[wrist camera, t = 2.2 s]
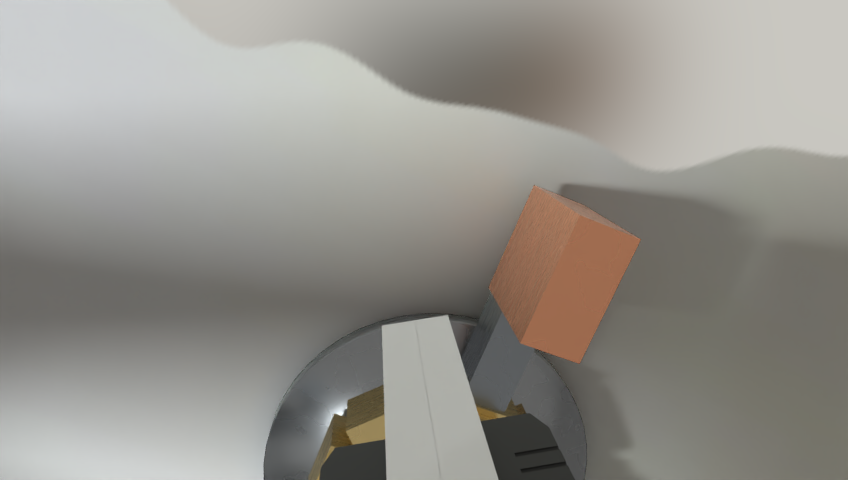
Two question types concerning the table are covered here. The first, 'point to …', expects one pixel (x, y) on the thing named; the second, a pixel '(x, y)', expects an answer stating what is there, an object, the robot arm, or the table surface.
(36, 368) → the table surface
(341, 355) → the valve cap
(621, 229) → the tan and copper piece
